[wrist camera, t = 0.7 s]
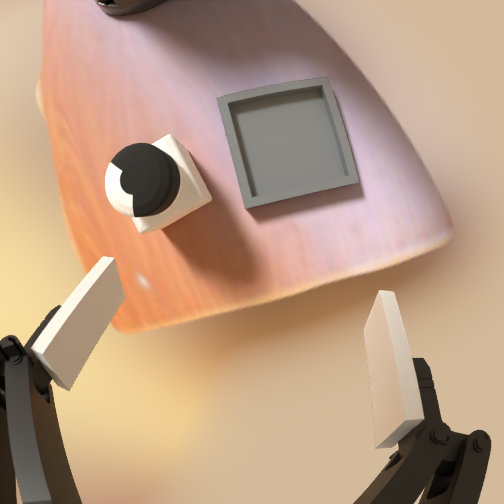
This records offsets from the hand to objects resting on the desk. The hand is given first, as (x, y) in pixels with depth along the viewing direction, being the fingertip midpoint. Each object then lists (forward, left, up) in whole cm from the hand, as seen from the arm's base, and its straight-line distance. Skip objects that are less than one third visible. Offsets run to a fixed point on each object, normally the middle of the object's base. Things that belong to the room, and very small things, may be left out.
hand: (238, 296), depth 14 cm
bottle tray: (-10, +7, -20) cm, 24 cm away
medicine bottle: (-8, -7, -20) cm, 23 cm away
